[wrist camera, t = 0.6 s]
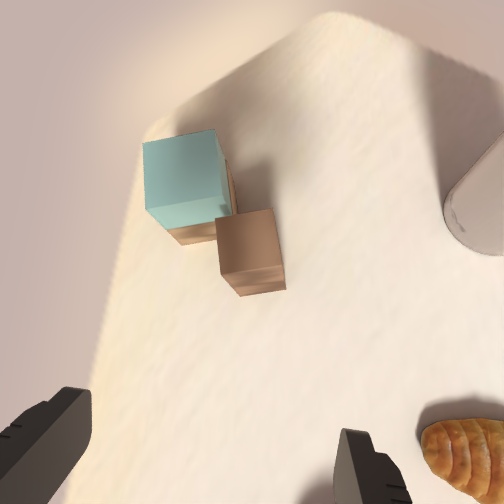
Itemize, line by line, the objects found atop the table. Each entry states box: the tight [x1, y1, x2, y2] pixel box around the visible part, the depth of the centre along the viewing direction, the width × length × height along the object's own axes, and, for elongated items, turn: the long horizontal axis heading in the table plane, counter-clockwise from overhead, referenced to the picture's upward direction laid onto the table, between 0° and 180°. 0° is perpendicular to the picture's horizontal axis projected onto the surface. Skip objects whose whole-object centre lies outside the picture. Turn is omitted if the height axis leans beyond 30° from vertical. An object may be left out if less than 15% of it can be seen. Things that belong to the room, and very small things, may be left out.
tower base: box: [167, 160, 238, 246], centre depth 38 cm, size 7×7×5 cm
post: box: [215, 208, 286, 297], centre depth 33 cm, size 5×5×10 cm
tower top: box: [143, 129, 232, 230], centre depth 34 cm, size 7×7×5 cm
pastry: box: [421, 418, 504, 504], centre depth 29 cm, size 9×7×4 cm
